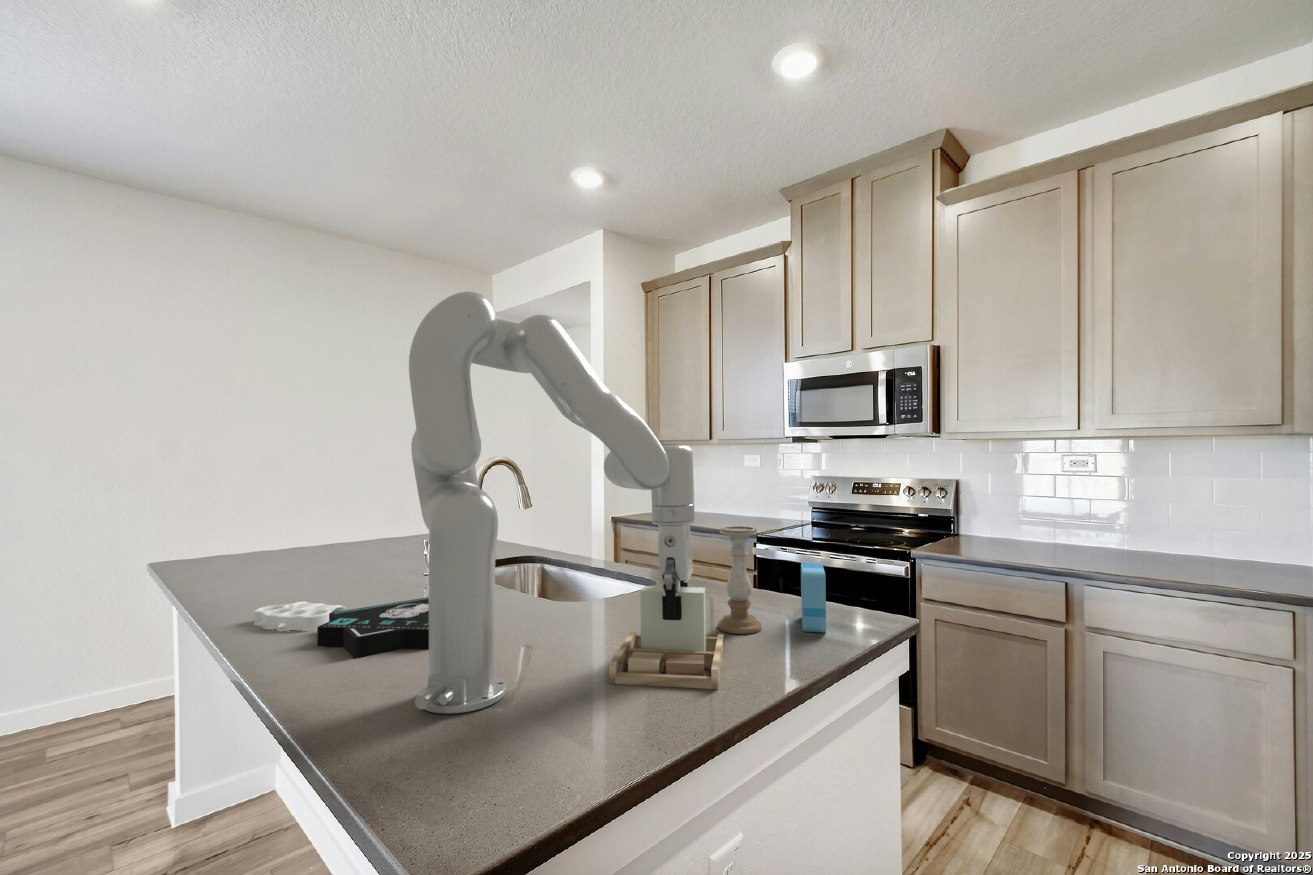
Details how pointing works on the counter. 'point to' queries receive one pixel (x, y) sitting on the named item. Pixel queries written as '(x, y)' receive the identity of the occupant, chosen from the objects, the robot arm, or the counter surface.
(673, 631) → the sage panel
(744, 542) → the candle holder
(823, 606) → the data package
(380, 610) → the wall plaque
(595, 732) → the counter surface
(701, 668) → the walnut offcut
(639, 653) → the pine offcut
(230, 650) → the counter surface
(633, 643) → the oak rack
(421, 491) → the robot arm
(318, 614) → the white dimpled disc
